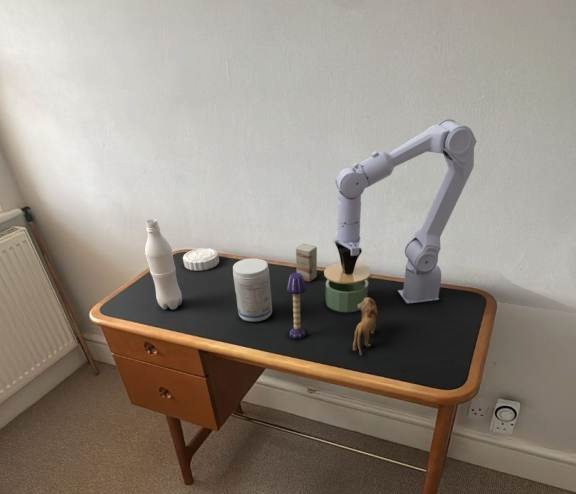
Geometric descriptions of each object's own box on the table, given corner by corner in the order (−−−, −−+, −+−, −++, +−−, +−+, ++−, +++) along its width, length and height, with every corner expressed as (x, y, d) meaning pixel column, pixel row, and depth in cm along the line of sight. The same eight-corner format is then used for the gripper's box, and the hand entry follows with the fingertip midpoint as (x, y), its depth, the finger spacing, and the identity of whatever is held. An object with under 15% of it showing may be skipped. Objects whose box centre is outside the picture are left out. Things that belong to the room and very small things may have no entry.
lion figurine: (356, 324, 123) (358, 294, 117) (377, 326, 122) (379, 295, 116) (350, 356, 112) (351, 324, 106) (373, 358, 110) (375, 325, 105)
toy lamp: (292, 328, 123) (289, 269, 112) (309, 330, 122) (307, 271, 111) (287, 338, 119) (283, 278, 109) (304, 340, 118) (302, 280, 108)
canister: (360, 291, 137) (361, 271, 133) (372, 310, 128) (373, 289, 124) (322, 296, 136) (322, 276, 132) (330, 316, 127) (330, 295, 123)
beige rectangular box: (296, 278, 146) (294, 248, 140) (303, 273, 149) (302, 243, 142) (310, 282, 143) (309, 251, 137) (317, 276, 146) (317, 246, 140)
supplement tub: (240, 306, 134) (234, 258, 125) (273, 305, 133) (269, 256, 124) (237, 324, 126) (230, 274, 117) (272, 322, 126) (267, 272, 117)
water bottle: (188, 304, 136) (170, 219, 121) (168, 314, 132) (147, 227, 117) (174, 297, 140) (154, 214, 125) (154, 306, 136) (131, 222, 121)
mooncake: (179, 270, 155) (177, 260, 153) (191, 256, 164) (189, 246, 162) (213, 271, 153) (212, 261, 151) (223, 256, 163) (222, 246, 160)
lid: (363, 263, 132) (364, 246, 129) (376, 283, 122) (377, 264, 119) (319, 268, 131) (319, 251, 128) (329, 288, 121) (329, 270, 118)
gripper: (327, 212, 122) (327, 261, 131) (340, 232, 111) (339, 284, 120) (353, 210, 123) (351, 258, 131) (368, 229, 112) (365, 281, 120)
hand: (347, 270), depth 126 cm, fingers closed on lid, 2 cm apart
